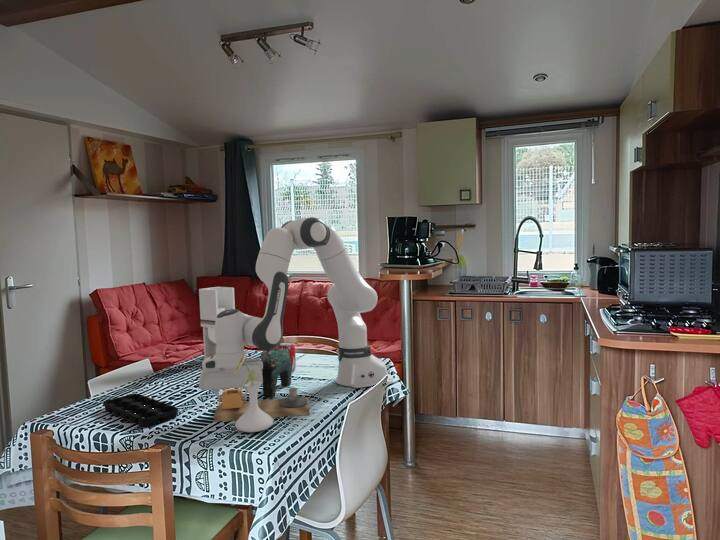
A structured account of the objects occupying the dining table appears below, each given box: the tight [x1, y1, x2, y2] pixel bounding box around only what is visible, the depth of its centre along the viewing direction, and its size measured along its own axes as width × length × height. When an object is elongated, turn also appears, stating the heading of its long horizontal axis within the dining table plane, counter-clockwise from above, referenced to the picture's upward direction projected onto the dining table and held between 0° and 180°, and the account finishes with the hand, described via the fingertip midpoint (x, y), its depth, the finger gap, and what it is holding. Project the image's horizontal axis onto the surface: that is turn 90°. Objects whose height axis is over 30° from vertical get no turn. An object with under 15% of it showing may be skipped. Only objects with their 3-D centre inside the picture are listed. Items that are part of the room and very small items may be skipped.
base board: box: [213, 387, 310, 422], centre depth 170 cm, size 30×12×7 cm, turn 98°
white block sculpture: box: [198, 286, 236, 362], centre depth 236 cm, size 11×11×35 cm
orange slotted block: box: [221, 388, 244, 409], centre depth 168 cm, size 6×6×4 cm
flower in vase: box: [234, 349, 275, 433], centre depth 153 cm, size 13×11×25 cm
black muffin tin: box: [102, 393, 179, 429], centre depth 171 cm, size 18×30×4 cm, turn 63°
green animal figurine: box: [259, 345, 293, 399], centre depth 191 cm, size 20×6×20 cm, turn 163°
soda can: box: [279, 341, 297, 373], centre depth 220 cm, size 7×7×12 cm
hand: (232, 401), depth 168 cm, fingers closed on orange slotted block, 6 cm apart
